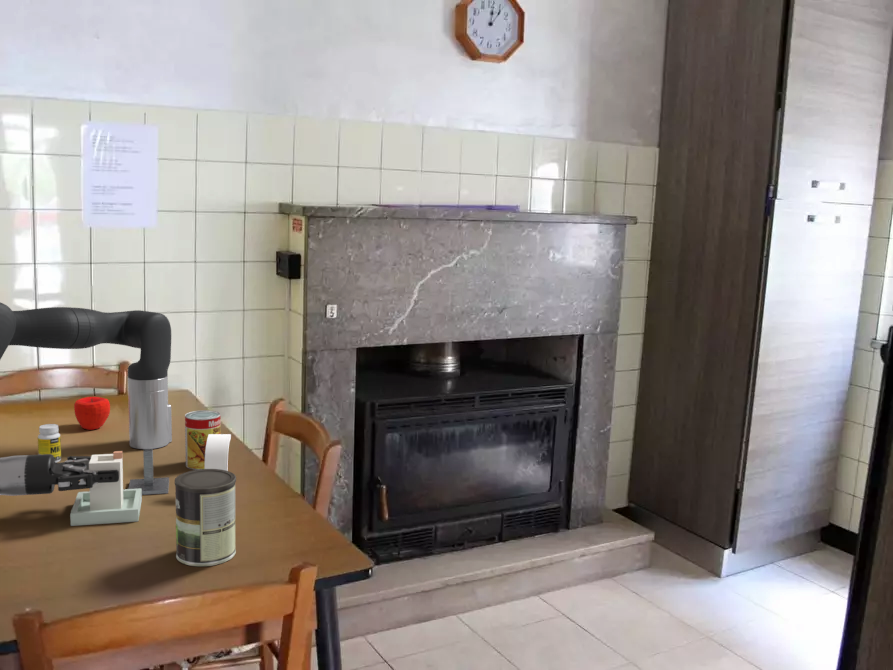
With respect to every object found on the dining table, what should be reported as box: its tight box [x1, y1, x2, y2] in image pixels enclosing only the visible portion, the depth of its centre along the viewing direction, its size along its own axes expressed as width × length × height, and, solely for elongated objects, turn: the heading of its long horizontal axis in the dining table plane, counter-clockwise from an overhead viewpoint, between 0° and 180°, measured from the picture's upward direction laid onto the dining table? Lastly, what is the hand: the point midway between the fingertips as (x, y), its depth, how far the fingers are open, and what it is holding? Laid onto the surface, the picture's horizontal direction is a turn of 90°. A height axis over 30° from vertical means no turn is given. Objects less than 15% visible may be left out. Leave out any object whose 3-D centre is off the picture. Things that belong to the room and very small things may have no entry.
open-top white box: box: [89, 450, 124, 511], centre depth 169 cm, size 6×6×11 cm
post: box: [127, 449, 170, 496], centre depth 183 cm, size 8×8×8 cm
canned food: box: [184, 409, 222, 471], centre depth 199 cm, size 8×8×12 cm
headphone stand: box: [205, 433, 232, 471], centre depth 182 cm, size 5×6×12 cm
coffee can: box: [174, 469, 237, 568], centre depth 151 cm, size 10×10×14 cm
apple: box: [73, 396, 111, 431], centre depth 226 cm, size 9×9×8 cm
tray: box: [69, 488, 143, 527], centre depth 170 cm, size 12×12×2 cm
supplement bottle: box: [37, 423, 62, 463], centre depth 198 cm, size 5×5×8 cm
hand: (119, 470), depth 169 cm, fingers open, 6 cm apart
